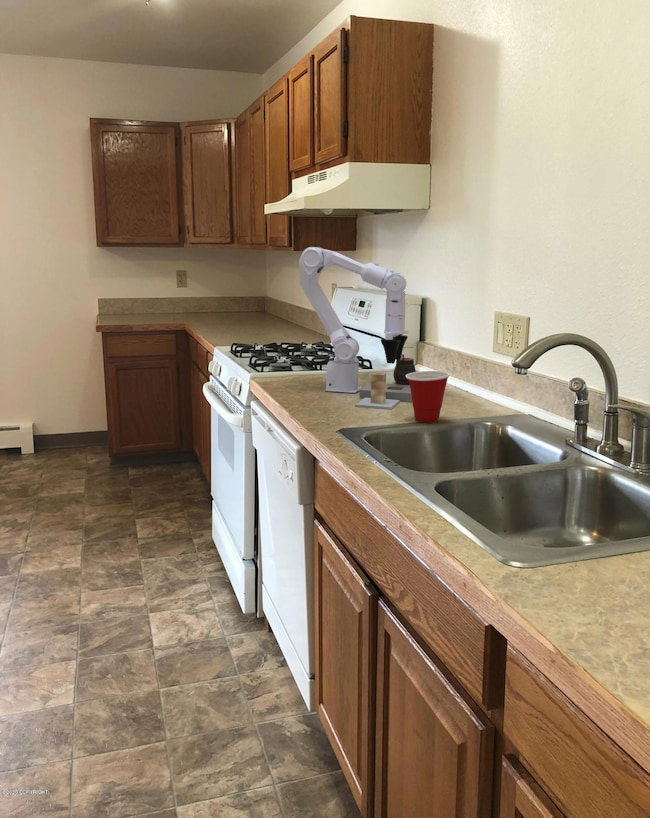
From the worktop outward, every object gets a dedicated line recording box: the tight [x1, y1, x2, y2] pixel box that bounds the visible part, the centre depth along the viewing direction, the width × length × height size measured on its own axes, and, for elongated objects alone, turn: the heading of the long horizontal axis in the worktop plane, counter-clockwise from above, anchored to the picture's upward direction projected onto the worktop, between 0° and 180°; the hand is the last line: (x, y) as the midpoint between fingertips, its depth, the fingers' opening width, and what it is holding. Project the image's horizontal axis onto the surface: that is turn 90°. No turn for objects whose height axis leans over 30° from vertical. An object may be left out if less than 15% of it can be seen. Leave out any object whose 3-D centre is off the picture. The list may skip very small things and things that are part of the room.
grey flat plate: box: [358, 382, 412, 403], centre depth 207 cm, size 18×12×2 cm, turn 71°
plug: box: [370, 371, 387, 404], centre depth 196 cm, size 3×3×8 cm
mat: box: [355, 398, 401, 410], centre depth 197 cm, size 10×10×1 cm
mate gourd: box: [392, 353, 417, 385], centre depth 227 cm, size 7×8×10 cm
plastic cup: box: [406, 370, 450, 424], centre depth 178 cm, size 11×11×12 cm
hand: (393, 361), depth 212 cm, fingers open, 7 cm apart
